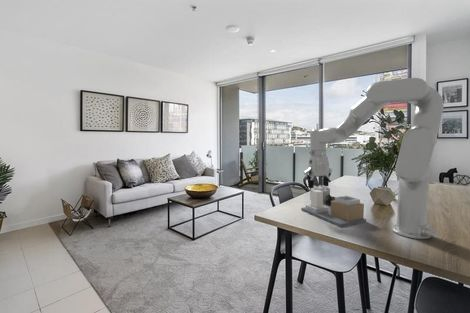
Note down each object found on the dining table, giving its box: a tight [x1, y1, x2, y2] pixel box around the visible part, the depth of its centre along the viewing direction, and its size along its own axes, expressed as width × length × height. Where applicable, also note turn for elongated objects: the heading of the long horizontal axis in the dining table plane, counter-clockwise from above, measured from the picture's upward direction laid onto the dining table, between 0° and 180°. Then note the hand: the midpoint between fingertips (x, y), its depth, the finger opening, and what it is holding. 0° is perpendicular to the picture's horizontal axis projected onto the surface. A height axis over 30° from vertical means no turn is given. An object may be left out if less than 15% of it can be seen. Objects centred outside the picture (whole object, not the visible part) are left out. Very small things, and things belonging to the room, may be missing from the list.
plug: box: [310, 190, 324, 208], centre depth 122 cm, size 5×4×10 cm
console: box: [301, 195, 367, 228], centre depth 117 cm, size 26×16×10 cm, turn 23°
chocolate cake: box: [323, 193, 336, 207], centre depth 132 cm, size 10×7×12 cm
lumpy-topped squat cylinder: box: [309, 184, 331, 203], centre depth 146 cm, size 10×13×9 cm
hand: (318, 186), depth 121 cm, fingers open, 9 cm apart
